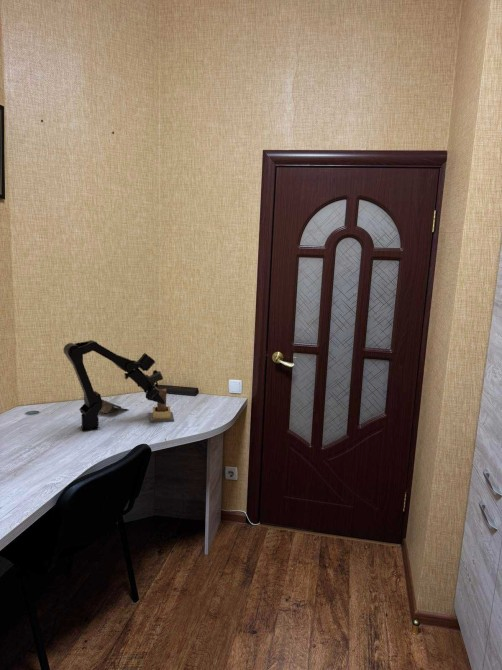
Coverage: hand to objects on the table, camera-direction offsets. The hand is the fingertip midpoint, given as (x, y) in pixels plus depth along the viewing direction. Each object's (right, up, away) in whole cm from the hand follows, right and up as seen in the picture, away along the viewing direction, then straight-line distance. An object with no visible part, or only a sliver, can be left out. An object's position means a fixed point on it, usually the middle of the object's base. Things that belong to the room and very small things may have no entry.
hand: (163, 400), depth 216 cm
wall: (-29, -7, +9) cm, 31 cm away
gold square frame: (-1, -9, +1) cm, 9 cm away
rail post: (-1, -8, +1) cm, 8 cm away
